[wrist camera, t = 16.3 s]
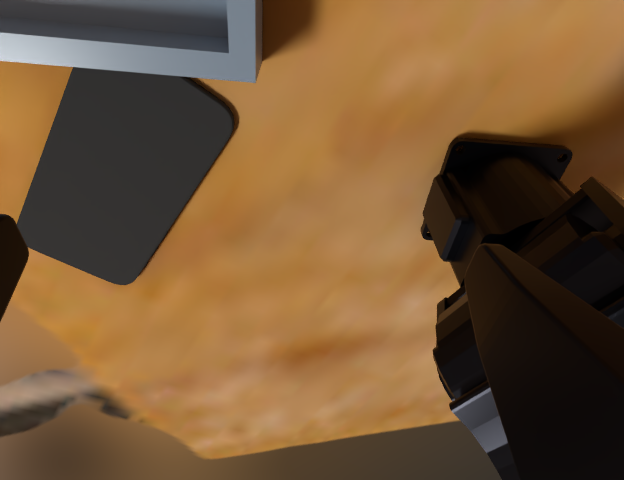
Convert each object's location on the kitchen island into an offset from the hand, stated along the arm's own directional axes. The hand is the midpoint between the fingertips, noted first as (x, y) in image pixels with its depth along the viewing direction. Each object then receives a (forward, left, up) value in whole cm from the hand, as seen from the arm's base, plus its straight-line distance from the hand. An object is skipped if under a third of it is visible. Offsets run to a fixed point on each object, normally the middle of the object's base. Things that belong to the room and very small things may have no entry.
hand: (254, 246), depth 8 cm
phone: (+9, +7, -14) cm, 18 cm away
